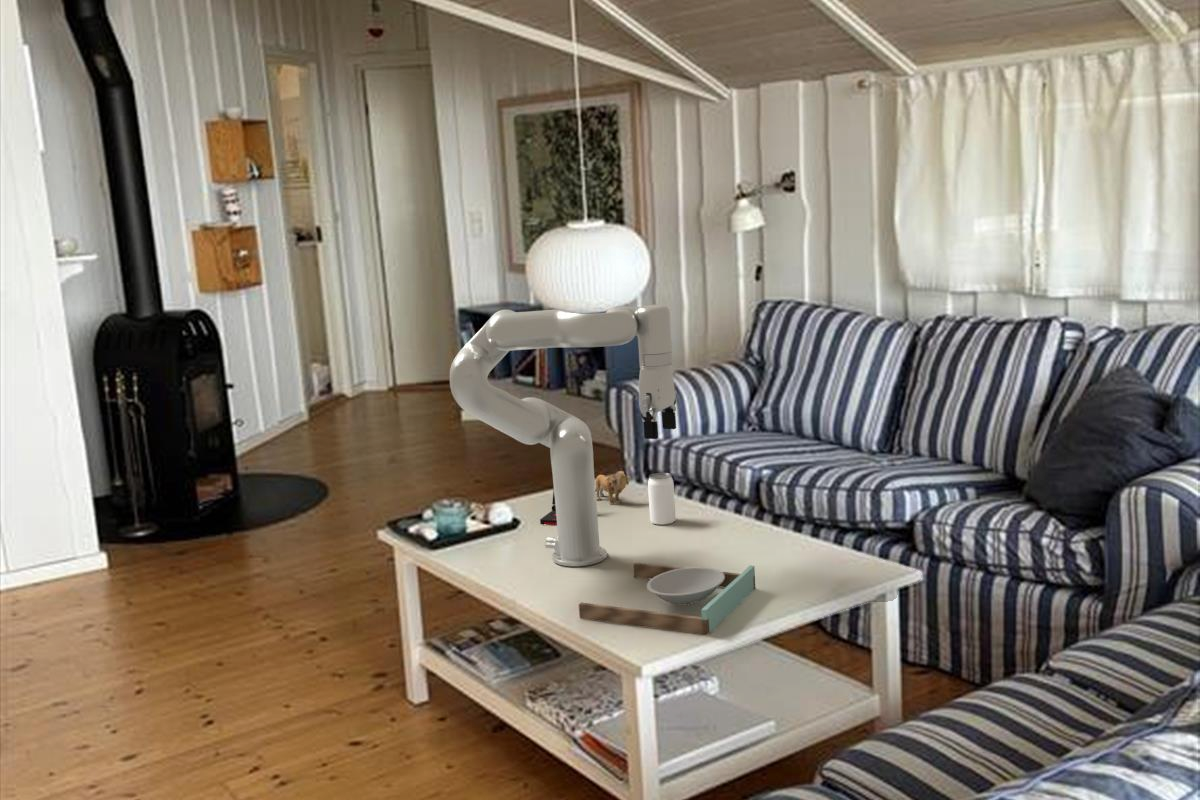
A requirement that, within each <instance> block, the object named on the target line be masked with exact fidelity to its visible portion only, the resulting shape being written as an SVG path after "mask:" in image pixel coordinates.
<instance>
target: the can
mask: <svg viewBox="0 0 1200 800" xmlns="http://www.w3.org/2000/svg"><path fill="white" fill-rule="evenodd" d="M648 477H649V478H648V481H647V492H648V507H649V520H650V522H651V524H652V523H653V525H655V524H656V525H655V526H667V524H668V525H671V524H670V523H672V524H674V523H675V522H676V520H677V519H676V518H677V517H676V514H677V513H676V501H675V500H676V499H675V498H676V497H675V487H674V486H675V485H674V480H673V477H672V474H671V473H670V472H669V473H668V472H657V473H651V474H650V475H649V476H648ZM674 521H675V522H674ZM673 522H674V523H673Z"/></svg>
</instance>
